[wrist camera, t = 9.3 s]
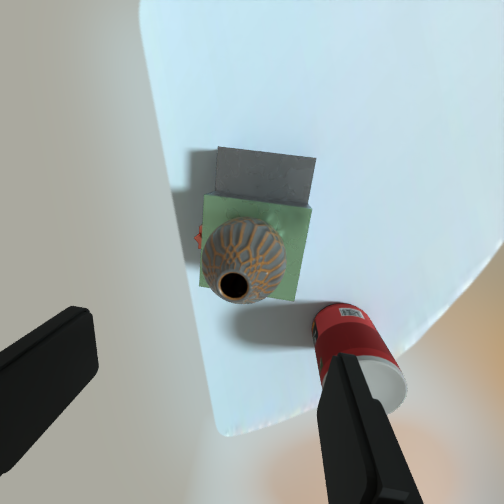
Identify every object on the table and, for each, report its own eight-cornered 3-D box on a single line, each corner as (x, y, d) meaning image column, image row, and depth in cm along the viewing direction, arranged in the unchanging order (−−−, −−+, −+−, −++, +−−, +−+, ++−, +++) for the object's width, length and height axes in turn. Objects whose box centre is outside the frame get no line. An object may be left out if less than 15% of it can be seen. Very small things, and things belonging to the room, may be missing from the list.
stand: (219, 148, 29) (197, 141, 22) (311, 159, 28) (322, 155, 21) (211, 259, 34) (191, 284, 26) (291, 271, 33) (293, 301, 25)
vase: (290, 274, 24) (295, 327, 16) (223, 282, 26) (196, 336, 17) (280, 204, 22) (279, 225, 14) (208, 217, 24) (168, 243, 15)
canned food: (300, 317, 35) (308, 380, 25) (352, 291, 33) (385, 346, 22) (328, 356, 36) (346, 430, 26) (379, 333, 34) (422, 404, 24)
